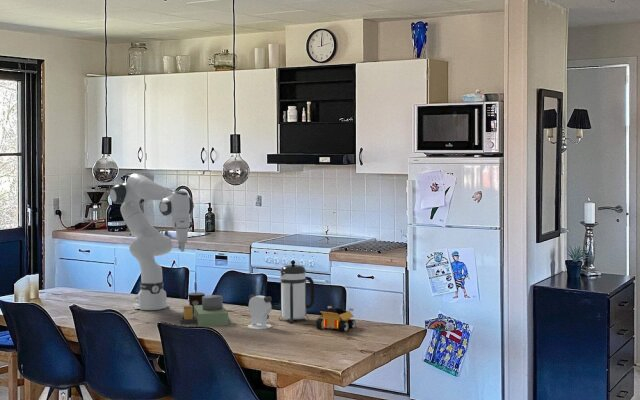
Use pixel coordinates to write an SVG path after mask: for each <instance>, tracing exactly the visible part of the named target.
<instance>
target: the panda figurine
mask: <svg viewBox="0 0 640 400" xmlns="http://www.w3.org/2000/svg"><path fill="white" fill-rule="evenodd" d="M247 297H248V299H249V301H248V310H249V312H250V314H251V324H248V325H247V328H248V329H251V330H267V329H270V328H272V325H271V324H270V323H269V324H268V319H269V317H270V315H269V314H270V313H271V311H272V309H273V306H272V301H273V297H272V296H271V295H270V296H268V295H267V296H264V295H257V294H256V293H255V294H249V295H248V296H247Z"/></svg>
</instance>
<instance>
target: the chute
mask: <svg viewBox="0 0 640 400" xmlns="http://www.w3.org/2000/svg"><path fill="white" fill-rule="evenodd" d="M193 316H194V314H193V306H192V305H190V304H189V305H188V304H187V305H183V317H184V320H186V319H193Z"/></svg>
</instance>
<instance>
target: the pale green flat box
mask: <svg viewBox="0 0 640 400" xmlns="http://www.w3.org/2000/svg"><path fill="white" fill-rule="evenodd" d="M223 300H224V297H223V296H222V295H219V294H218V295H217V294H209V295H205V296H203V297H202V305H194V314H193V319H186V320H184V316H180V317H179V323H180V325H189V324H197V326H198V327H211V326H212V327H213V326H215V327H216V326H228V325H229V312H228V311H227V309H226V308H225V307H224V306H223V302H224V301H223Z"/></svg>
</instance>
